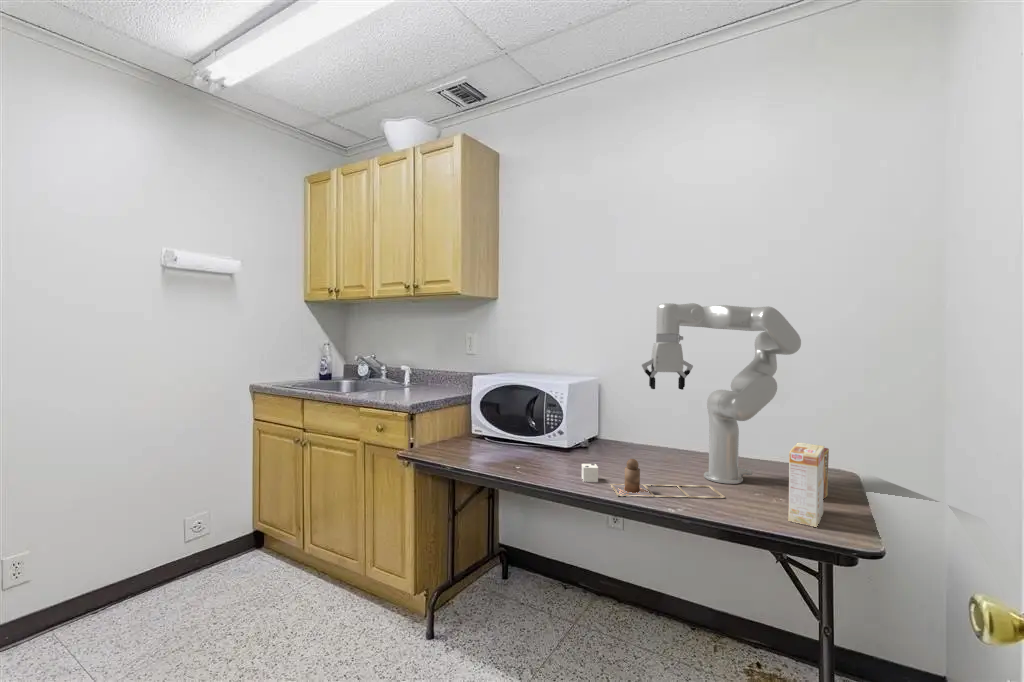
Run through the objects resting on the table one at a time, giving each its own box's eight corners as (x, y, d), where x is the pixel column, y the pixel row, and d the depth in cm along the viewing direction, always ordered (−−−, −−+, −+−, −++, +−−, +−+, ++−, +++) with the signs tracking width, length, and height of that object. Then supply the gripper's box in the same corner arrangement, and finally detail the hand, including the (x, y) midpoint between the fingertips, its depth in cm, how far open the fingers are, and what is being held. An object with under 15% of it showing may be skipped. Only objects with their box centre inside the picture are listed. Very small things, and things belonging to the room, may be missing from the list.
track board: (710, 486, 158) (710, 485, 158) (726, 498, 146) (726, 497, 146) (610, 485, 158) (610, 483, 158) (617, 496, 146) (617, 495, 146)
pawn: (637, 487, 154) (638, 457, 154) (641, 492, 150) (641, 460, 150) (623, 487, 155) (623, 456, 155) (626, 492, 150) (626, 460, 150)
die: (595, 478, 166) (595, 463, 166) (598, 482, 161) (598, 467, 161) (581, 477, 166) (581, 463, 166) (583, 482, 161) (583, 467, 161)
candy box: (812, 492, 153) (813, 445, 153) (828, 495, 150) (829, 448, 150) (806, 499, 147) (807, 450, 146) (822, 502, 144) (823, 452, 144)
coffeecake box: (795, 507, 140) (797, 441, 139) (824, 513, 135) (825, 445, 135) (786, 522, 128) (788, 450, 128) (817, 529, 124) (819, 455, 123)
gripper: (688, 339, 165) (688, 388, 165) (639, 339, 165) (638, 387, 166) (697, 339, 158) (696, 390, 158) (645, 339, 158) (644, 389, 158)
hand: (666, 388), depth 162 cm, fingers open, 9 cm apart
